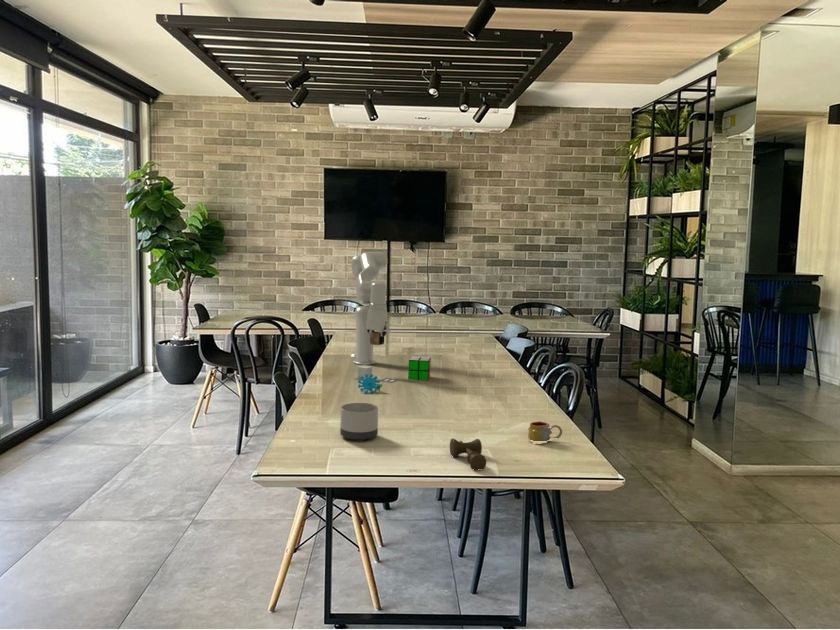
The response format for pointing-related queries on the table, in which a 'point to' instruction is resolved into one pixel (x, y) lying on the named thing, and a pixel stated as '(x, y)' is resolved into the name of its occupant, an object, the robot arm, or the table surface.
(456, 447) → the kendama
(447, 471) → the table surface
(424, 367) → the puzzle cube
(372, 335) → the walnut block
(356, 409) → the planter
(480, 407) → the table surface
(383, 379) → the coaster
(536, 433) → the mug
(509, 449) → the table surface
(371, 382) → the blue spiky virus model
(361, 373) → the pale grey-green block
